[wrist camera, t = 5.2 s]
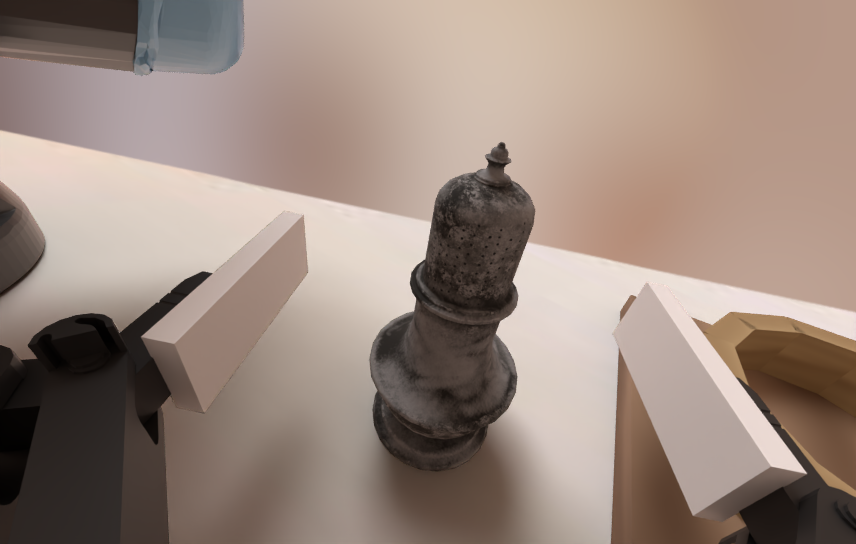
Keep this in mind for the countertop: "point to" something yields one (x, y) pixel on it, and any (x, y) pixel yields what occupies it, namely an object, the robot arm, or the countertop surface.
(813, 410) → the collar stand
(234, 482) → the countertop surface
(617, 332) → the robot arm
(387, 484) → the countertop surface
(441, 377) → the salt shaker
